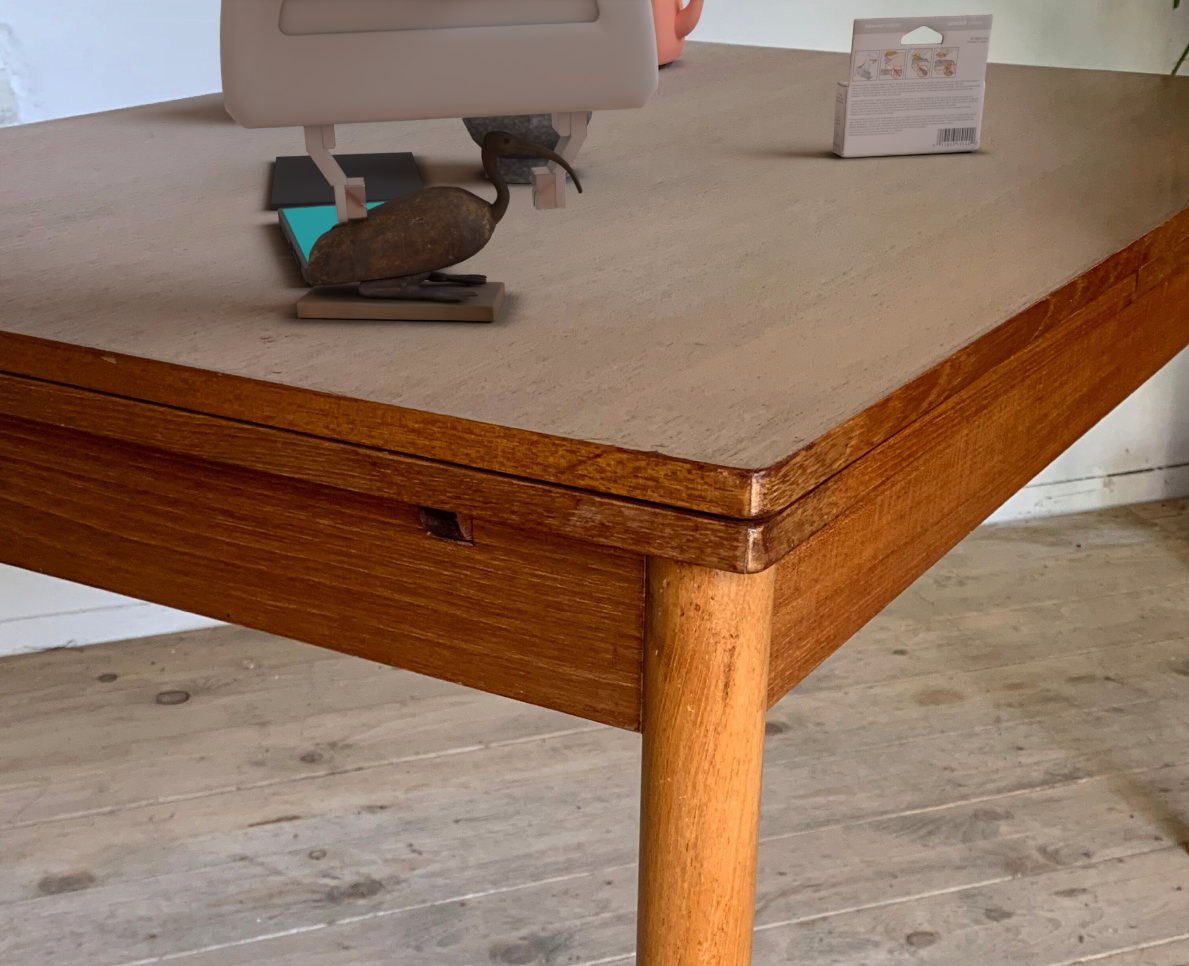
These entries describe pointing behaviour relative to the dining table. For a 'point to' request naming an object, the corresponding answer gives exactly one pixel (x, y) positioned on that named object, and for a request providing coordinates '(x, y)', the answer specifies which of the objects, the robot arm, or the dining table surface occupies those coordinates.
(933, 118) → the ink cartridge box
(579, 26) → the robot arm
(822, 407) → the dining table surface
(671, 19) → the teapot
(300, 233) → the smartphone
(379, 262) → the figurine
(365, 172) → the mat
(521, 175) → the mortar and pestle
